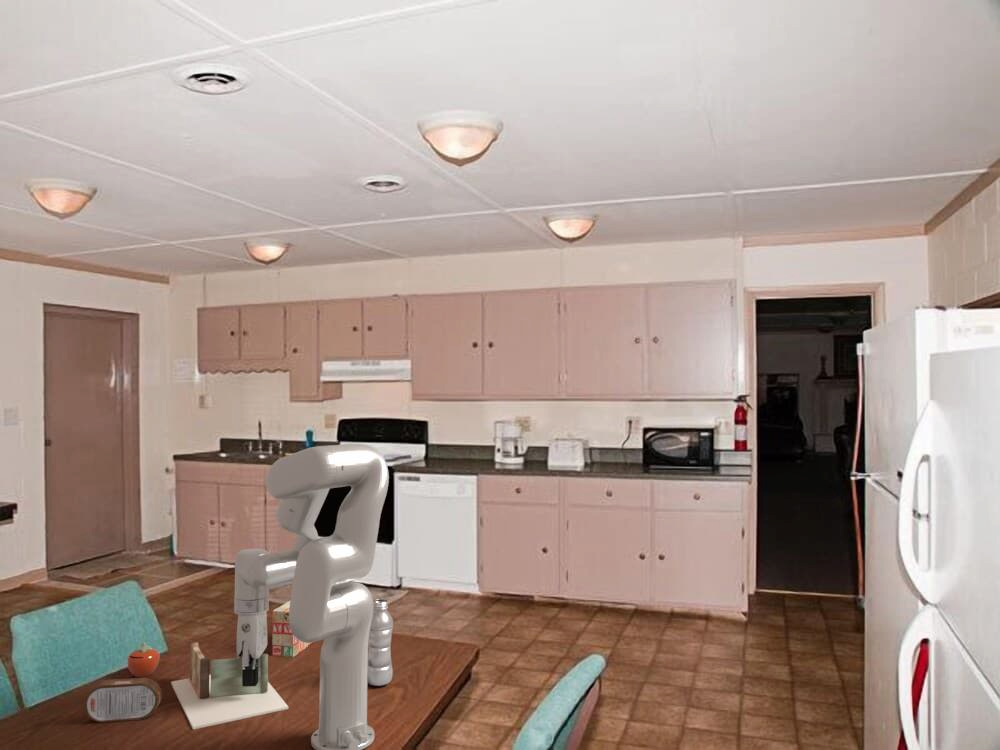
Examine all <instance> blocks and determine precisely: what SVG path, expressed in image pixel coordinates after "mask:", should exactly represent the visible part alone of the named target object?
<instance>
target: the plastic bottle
mask: <svg viewBox="0 0 1000 750" xmlns="http://www.w3.org/2000/svg"><path fill="white" fill-rule="evenodd" d="M388 601H389V600H388V599H384V598H378V599H373V615H372V621H371V625H370V631H369V639H368V668H367V684H368V685H370V686H374V687H381V686H385V685H388V684H389V683H391V681H392V679H393V674H394V671H393V664H392V653H391V648H392V647H391V646H392V636H393V630H394V620H393V617H392V615H391V613H390V612H389V611H388V609H389V605H388V604H389V603H388Z"/></svg>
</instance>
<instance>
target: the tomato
mask: <svg viewBox="0 0 1000 750" xmlns="http://www.w3.org/2000/svg"><path fill="white" fill-rule="evenodd" d="M160 658H161V655H160V653H159V651H158V649H156V648H153V646H150V645H148V644H147V643H146V642H142V643H141V645H140V646H138V647H137V648H136V649H135V650H132V652H130V653H129V655H128V657H127V660H126V662H127V663H126V664H127V668H128V670H129V671H130V673H131V674H132V675H133V676H134V677H135V678H147V677H149V676H151V675H152V674H153V673H154V672H155V671H156V669H157V667H158V665H159V663H160V660H161V659H160Z"/></svg>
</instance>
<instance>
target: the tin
mask: <svg viewBox="0 0 1000 750" xmlns="http://www.w3.org/2000/svg"><path fill="white" fill-rule="evenodd" d="M162 695H163V693H162V689H161V687H160V686H159V684H158V683H157V682H156V681H155V680H154V679H151V678H147V677H135V678H121V679H119V678H117V679H105V680H100V681H98V682H97V683H95V684H94V685H93V686H92V687H90V689H89V691H88V692H87V694H86V695H85V698H84V704H83V707H84V708H83V709H84V711H85V713H86V715H87V717H89V718H90V720H92V721H93V722H98V723H113V722H124V721H125V722H127V721H139V720H145V719H146V718H148V717H150V716H152V714H154V713H155V711H156V710H157V709H158V706H160V704H161V701H162Z"/></svg>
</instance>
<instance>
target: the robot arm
mask: <svg viewBox="0 0 1000 750" xmlns="http://www.w3.org/2000/svg"><path fill="white" fill-rule="evenodd" d="M389 479H390V474H389V469H388V464H387V461H386V459H385V457H384V455H383V454H382V453H381V452H380V451H379V450H378V449H377V448H375V447H374V446H371V445H368V444H360V443H344V444H343V443H342V444H331V445H317V446H312V447H307V448H305V449H303V450H299V451H297V452H294V453H292V454H288V455H286V456H283V457H281V458H278V459H277V460H275V461H274V463H273V464H272V465H271V466H270V468H269V469H268V471H267V475H266V480H265V483H266V485H265V486H266V488H267V491H268V493H269V495H270V496H271V497H272V498H274V499H276V500H280V502H279V505H278V506H277V509H276V512H275V520H276V522H277V523H278V525H279V526H280V527H281V528H283V529H284V530H286V531H288V532H289V533H292V534H294V535H296V536H297V538H296V540H295V542H294V545H293V546H292V548H290V549H287V550H282V551H276V552H272V553H270V552H269V551H268V550H266V549H264V548H258V547H256V548H245V549H241V550H239V551H238V552H237V553H236V554H235V559H234V560H235V562H234V605H233V606H234V608H233V609H234V610H233V611H234V612H233V613H234V614H236V615H237V623H236V624H237V626H236V647H235V648H236V658H238V659H241V658H242V667H243V669H242V686H244V687H246V686H256V685H257V684H258V668H259V666H258V662H259V657H260V656H261V655H262V654H264V651H265V650H266V649H267V646H268V619H267V618H268V617H267V616H268V615H267V612H268V611H269V609H270V604H269V603H270V602H269V601H270V589H274V588H278V587H282V586H283V587H284V586H287V585H291V584H292V587H291V594H290V595H291V596H290V600H289V601H290V607H289V624H290V628H291V631H292V633H293V635H294V636H295V637H296V639H298V640H299V641H301V642H305V643H311V642H312V643H315V642H320V641H323V643H322V646H321V649H320V655H319V704H318V705H319V706H318V707H319V708H318V709H319V714H318V715H319V716H318V718H319V720H318V721H319V722H318V728H317V729H316V730H315V731H314V732H313V733H312V735H311V737H310V743H311V747H312V748H313V749H314V750H364V749H366V748H368V747H369V746H370V745H371V744H373V742H374V740H375V731H374V728H373V727H371V726H370V725H368V682H367V668H368V654H369V641H368V639H369V631H370V625H371V621H372V615H373V601H374V599H373V595H372V593H371V591H370V590H369V589H368V587H367V586H366V585H364V584H363V583H360V582H355V581H357V580H360V579H362V578H364V577H366V576H367V575H368V574H369V573H370V571H371V570H372V568H373V563H374V559H375V555H376V554H375V553H376V547H377V542H378V536H379V535H378V534H379V528H380V520H381V514H382V511H383V507H384V504H385V500H386V497H387V494H388V489H389V488H388V487H389V483H390V481H389ZM343 487H351V489H350V491H349V492H348V494H347V495H346V496H345V498H344V499H343V501H342V502H341V503H340V504H341V505H340V506H339V509H338V512H337V514H336V515H337V516H336V523H335V529H334V531H333V533H332V534H331V535H329V536H324V537H319V534H318V531H317V529H316V527H315V523H316V521H317V518H318V516H319V515H320V512H321V509H322V507H323V505H324V503H325V501H326V498H327V496H328V494H329V491H330V490H331V489H334V488H335V489H336V488H343ZM312 643H311V644H312Z"/></svg>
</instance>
